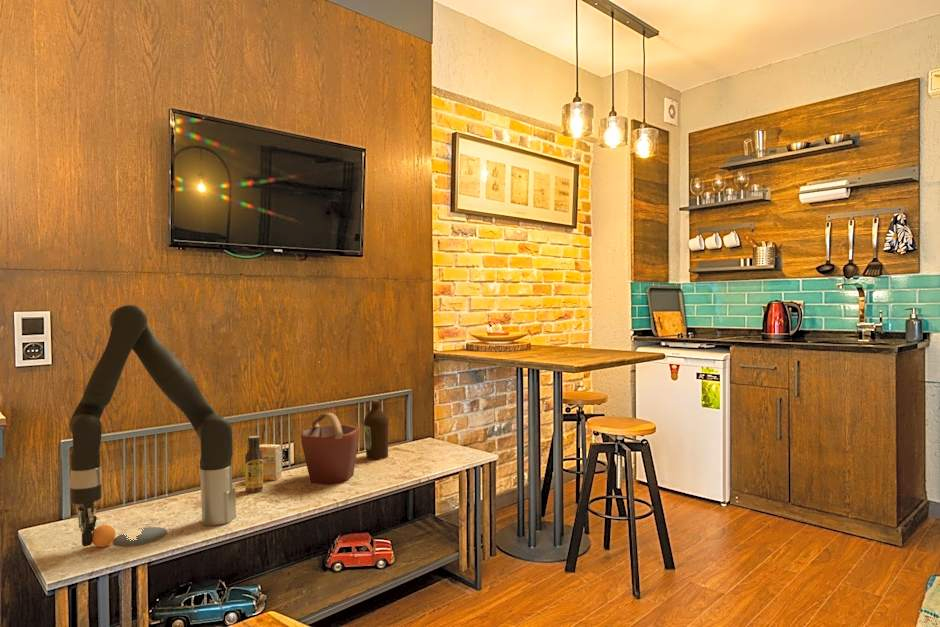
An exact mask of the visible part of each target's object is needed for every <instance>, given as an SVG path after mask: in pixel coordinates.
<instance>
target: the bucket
mask: <svg viewBox="0 0 940 627" xmlns="http://www.w3.org/2000/svg"><path fill="white" fill-rule="evenodd" d="M325 417H328V419H329V420H330V422H331V424H332V425H320V424H319V422H321V421H322V420H324V419H325ZM311 426H312V427H311V428H307V429H306V428H305V429H302V430H300V440H301V441H300V442H301V446H302V450H303V456H304V459H305V460H304V461H305V464H306V468H307V472H308V477H309V482H310V484H312V485H321V486H322V485H325V486H329V485H335V484H341V483H346V482H348V481H349V480H350V479H351V478H352V477H353V476H354V474H355V473H354V472H355V467H356V459H357V453H358V448H359V441H360V427H357V426H354V425H353V426H352V425H349V424H341V422H340V419H339V418H338V416H337V415H336V414H335V413H333V412H325V413H324V412H323V413H320V414H319V415H318V416H317V417H315V419H314V420H313V421H312V422H311Z"/></svg>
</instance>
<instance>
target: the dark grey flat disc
mask: <svg viewBox="0 0 940 627" xmlns="http://www.w3.org/2000/svg"><path fill="white" fill-rule="evenodd" d="M142 528H143V529H144V530H143V529H142ZM141 529H142V532H141V533H142V534H140V535H138V536H136V537H137V538H136V539H137V540H134V539H133V540H134V541H133V540H131V539H130V540H131V541H130V540H129V539H128V538H129V537H128V538H126V537H127V535H126V536H125V535H124V534H123V533H121V534H119V535H117V536H115V538H114V540H113V541H112V543H113V544H114V545H115V544H116V545H115V546H118V545H122V546H121V547H132V546H131V545H135V546H141V545H145V543H146V544H148V543H149V544H150V543H152V542H155V541H157V539H158V540H160V539H161V537H162V538H163V537H164V536H166V535H167V531H168V530H167V529H166V528H164V527H161V526H160V527H159V526H150V527H149V526H148V527H141ZM122 534H123V535H122ZM159 538H160V539H159ZM127 539H128V540H127ZM140 544H141V545H140Z"/></svg>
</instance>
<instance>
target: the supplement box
mask: <svg viewBox="0 0 940 627" xmlns="http://www.w3.org/2000/svg"><path fill="white" fill-rule="evenodd" d="M259 446H260V450H261V452H262V455H263V481H277V480H280V479H281V478H282V477H283V476H282V444H268V443H267V444H264V443H263V444H262V443H261V444H259Z"/></svg>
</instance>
